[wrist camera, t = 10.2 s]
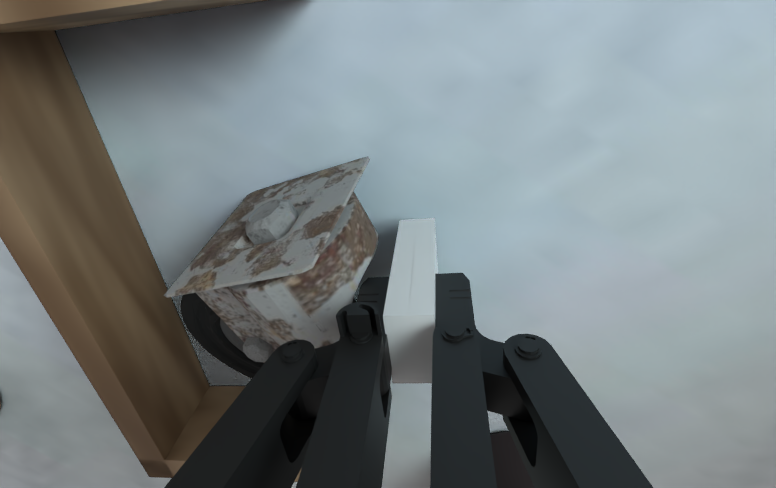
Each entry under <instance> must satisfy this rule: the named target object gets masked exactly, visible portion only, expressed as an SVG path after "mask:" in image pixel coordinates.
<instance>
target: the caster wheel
mask: <svg viewBox="0 0 776 488" xmlns="http://www.w3.org/2000/svg"><path fill="white" fill-rule="evenodd" d="M369 160H370V159H369V156H368V157H364V158H360V159H357V160H354V161H351V162H348V163H344V164H341V165H338V166H335V167H331V168H328V169H325V170H322V171H319V172H315V173H312V174H309V175H306V176H302V177H299V178H296V179H293V180H290V181H286V182H283V183H280V184H277V185H273V186H270V187H267V188H264V189H260V190H257V191H255V192H252V193H250V194H249V195H247V197H246V198H245V199H244V200H243V201H242V202H241V204H240V205H239V206H238V207H237V208H236V210H235V211H234V212H233V213H232V214H231V216H230V217H229V218H228V219H227V220H226V222H225V223H224V224H223V225H222V226H221V227H220V229H219V230H218V231H217V232H216V233H215V235H214V236H213V237H212V238H211V239H210V241H209V242H208V243H207V244H206V245H205V247H204V248H203V249H202V250H201V251H200V252H199V254H198V255H197V256H196V257H195V258H194V260H193V261H192V262H191V263H190V264H189V266H188V267H187V268H186V269H185V270H184V272H183V273H182V274H181V275H180V276H179V277H178V279H177V280H176V281H175V282H174V283H173V285H172V286H171V287H170V288H169V289H168V291H167V292H166V293H165V295H164V296H166V297H167V298H168V297H173V296H179V295H183V297H182V300H181V312H182V316H183V320H184V322H185V324H186V326H187V328H188V330H189V331H190V333H191V334H192V335H193V337H194V338H195V339H196V340H197V341H198V342H199V343H200V344H201V345H202V346H203V347H204V348H205V349H206V350H207V351H208V352H209V353H210V354H212V355H213V356H214V357H216V358H217V359H219V360H220V361H222V362H223V363H225V364H226V365H227V366H229V367H231V368H233V369H235V370H236V371H238V372H240V373H242V374H244V375H246V376H248V377H251V378H253V377H254V376H255V374H256V373H257V372H258V371H259V369H260V368H261V367H262V366H263V364H264V363H265V362H266V361H267V359H268V358H269V357H270V356H271V354H272V353H273V352H274V351H275V350H276V349H277V348H278V347H279V346H280V345H282V344H284V343H286V342H288V341H292V340H296V339H298V340H306V341H309V342H311V343H312V344H313V345H314V348H319V347H323V346H327V345H330V344H333V343H335V342H337V341H339V339H340V334H339V329H338V325H337V320H336V314H337V313H338V311H339V310H340V309H341V308H343V307H344V306H346V305H348V304H351V303H355V302H356V301H355V299H354V295H355V292H356V290H357V288H358V285H359V283H360V280H361V278H362V276H363V274H364V273H365V271H366V269H367V268H368V266H369V265H370V263H371V261H372V259H373V257H374V255H375V252H376V250H377V246H378V240H379V238H378V233H377V232H376V230H375V228H374V226H373V225H372V223H371V221H370V219H369V218H368V216H367V214H366V212H365V211H364V209H363V207H362V205H361V204H360V202H359V200H358V198H357V196H356V195H355V193H354V192H353V191H354V189H355V187H356V185H357V183H358V181H359V179H360V177H361V175H362V173H363V171H364V170H365V168H366V166H367V164H368V162H369Z"/></svg>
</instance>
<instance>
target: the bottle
mask: <svg viewBox="0 0 776 488" xmlns="http://www.w3.org/2000/svg"><path fill="white" fill-rule="evenodd" d="M490 436H491V444H492V452H493V460H494V468H495V476H496V484H497V488H535V487H534V485H533V483H532V480H531V478H530V476H529V474H528V472H527V470H526V467H525V465H524V463H523V461H522V459H521V456H520V454H519V452H518V450H517V448H516V446H515V443H514V441H513V439H512V437H511V435H510V433H509V432H500V433H494V434H490Z"/></svg>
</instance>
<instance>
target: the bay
mask: <svg viewBox="0 0 776 488" xmlns="http://www.w3.org/2000/svg"><path fill="white" fill-rule="evenodd" d="M260 1H267V0H0V237H1V239H2V240H3V242H4V244H5V245H6V247H7V248H8V250H9V252H10V253H11V255H12V257H13V258H14V260H15V261H16V263H17V265H18V266H19V268H20V269H21V271H22V273H23V274H24V276H25V277H26V279H27V281H28V282H29V284H30V285H31V287H32V289H33V290H34V292H35V294H36V295H37V297H38V298H39V300H40V302H41V303H42V305H43V306H44V308H45V310H46V311H47V313H48V314H49V316H50V318H51V319H52V321H53V323H54V324H55V326H56V327H57V329H58V331H59V332H60V334H61V335H62V337H63V339H64V340H65V342H66V343H67V345H68V347H69V348H70V350H71V352H72V353H73V355H74V356H75V358H76V360H77V361H78V363H79V364H80V366H81V368H82V369H83V371H84V372H85V374H86V376H87V377H88V379H89V381H90V382H91V384H92V385H93V387H94V389H95V390H96V392H97V393H98V395H99V397H100V398H101V400H102V401H103V403H104V405H105V406H106V408H107V410H108V411H109V413H110V414H111V416H112V418H113V419H114V421H115V422H116V424H117V426H118V427H119V429H120V430H121V432H122V434H123V435H124V437H125V438H126V440H127V442H128V443H129V445H130V447H131V448H132V450H133V451H134V453H135V455H136V456H137V458H138V459H139V461H140V463H141V464H142V466H143V467H144V469H145V471H146V472H147V474H148V476H149V477H164V478H173V476H174V475H175V474H176V473H177V471H178V470H179V469H180V468H181V466H182V465H183V464H184V463H185V461H186V460H187V459H188V458H189V456H190V455H191V454H192V453H193V451H194V450H195V449H196V448H197V446H198V445H199V444H200V443H201V442H202V440H203V439H204V438H205V437H206V435H207V434H208V433H209V432H210V430H211V429H212V428H213V427H214V425H215V424H216V423H217V422H218V420H219V419H220V418H221V417H222V415H223V414H224V413H225V412H226V410H227V409H228V408H229V407H230V405H231V404H232V403H233V402H234V400H235V399H236V398H237V397H238V395H239V394H240V393H241V392H242V390H243V389H244V388H245V387H246V386H210V385H209V383H208V381H207V379H206V376H205V374H204V372H203V369H202V367H201V365H200V363H199V360H198V358H197V356H196V353H195V351H194V349H193V347H192V344H191V342H190V340H189V337H188V335H187V333H186V331H185V328H184V326H183V324H182V321H181V319H180V317H179V315H178V312H177V310H176V308H175V305H174V303H173V301H172V299H171V297H168V298H167V297H166V296H164V295H165V293H166V292H167V291H168V289H167V287H166V285H165V283H164V280H163V278H162V276H161V273H160V271H159V269H158V267H157V264H156V262H155V260H154V257H153V255H152V253H151V251H150V248H149V246H148V244H147V241H146V239H145V237H144V235H143V232H142V230H141V228H140V225H139V223H138V221H137V219H136V216H135V214H134V212H133V209H132V207H131V205H130V203H129V200H128V198H127V196H126V193H125V191H124V189H123V187H122V184H121V182H120V180H119V177H118V175H117V173H116V171H115V168H114V166H113V164H112V161H111V159H110V157H109V155H108V152H107V150H106V148H105V145H104V143H103V141H102V138H101V136H100V134H99V132H98V129H97V127H96V125H95V122H94V120H93V118H92V116H91V113H90V111H89V109H88V106H87V104H86V102H85V100H84V97H83V95H82V93H81V90H80V88H79V86H78V84H77V81H76V79H75V77H74V74H73V72H72V70H71V68H70V65H69V63H68V61H67V58H66V56H65V54H64V52H63V49H62V47H61V45H60V42H59V40H58V38H57V36H56V33H55V31H54V30H61V29H69V28H76V27H83V26H90V25H97V24H104V23H111V22H118V21H125V20H132V19H139V18H146V17H153V16H161V15H168V14H175V13H182V12H189V11H196V10H203V9H210V8H217V7H224V6H231V5H238V4H245V3H253V2H260ZM301 469H302V468H301ZM300 472H301V470H300ZM300 472H299V474H298V475H297V477H296V479H295V481H294V482H298V479H299V475H300Z"/></svg>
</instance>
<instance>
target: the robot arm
mask: <svg viewBox="0 0 776 488" xmlns="http://www.w3.org/2000/svg"><path fill="white" fill-rule="evenodd" d="M336 320H337V325H338V329H339V334H340V339H339V341H337V342H335V343H333V344H330V345H327V346H323V347H319V348H314V345H313V344H312V343H311V342H309V341H306V340H298V339H296V340H292V341H288V342H286V343H284V344H282V345H280V346H279V347H278V348H277V349H276V350H275V351H274V352H273V353H272V354H271V356H270V357H269V358H268V359H267V361H266V362H265V363H264V364H263V366H262V367H261V368H260V369H259V371H258V372H257V373H256V374H255V376H254V377H253V378H252V379H251V381H250V382H249V383H248V384H247V385H246V387H245V388H244V389H243V390H242V392H241V393H240V394H239V395H238V397H237V398H236V399H235V400H234V402H233V403H232V404H231V405H230V407H229V408H228V409H227V410H226V412H225V413H224V414H223V415H222V417H221V418H220V419H219V420H218V422H217V423H216V424H215V425H214V427H213V428H212V429H211V430H210V432H209V433H208V434H207V435H206V437H205V438H204V439H203V440H202V442H201V443H200V444H199V445H198V446H197V448H196V449H195V450H194V451H193V453H192V454H191V455H190V456H189V458H188V459H187V460H186V461H185V463H184V464H183V465H182V466H181V468H180V469H179V470H178V471H177V473H176V474H175V475H174V476H173V478H172V479H171V480H170V481H169V483H168V484H167V485H166V486H165V488H291V486H292V485H293V483H294V481H295V479H296V477H297V475H298V474H299V472H300V470H301V472H300V475H299V479H298V482H297V486H296V488H381V487H382V478H383V469H384V460H385V451H386V442H387V434H388V425H389V416H390V407H391V398H392V396H391V389H390V380H391V375H392V382H393V383H432V415H431V485H430V488H497V484H496V476H495V468H494V460H493V452H492V444H491V436H490V428H489V421H488V413H487V410H488V411H491V412H495V413H498V414H501V415H503V419H504V422H505V424H506V426H507V428H508V430H509V433H510V435H511V437H512V439H513V441H514V443H515V446H516V448H517V450H518V452H519V454H520V456H521V459H522V461H523V463H524V465H525V467H526V470H527V472H528V474H529V476H530V478H531V480H532V483H533V485H534V487H535V488H653V487H652V485H651V484H650V482H649V481H648V480H647V478H646V477H645V475H644V474H643V473H642V471H641V470H640V469H639V467H638V466H637V464H636V463H635V462H634V460H633V459H632V457H631V456H630V455H629V453H628V452H627V450H626V449H625V448H624V446H623V445H622V443H621V442H620V441H619V439H618V438H617V436H616V435H615V434H614V432H613V431H612V430H611V428H610V427H609V425H608V424H607V423H606V421H605V420H604V418H603V417H602V416H601V414H600V413H599V411H598V410H597V409H596V407H595V406H594V404H593V403H592V402H591V400H590V399H589V397H588V396H587V395H586V393H585V392H584V390H583V389H582V388H581V386H580V385H579V384H578V382H577V381H576V379H575V378H574V377H573V375H572V374H571V372H570V371H569V370H568V368H567V367H566V365H565V364H564V363H563V361H562V360H561V358H560V357H559V356H558V354H557V353H556V351H555V350H554V349H553V347H552V346H551V345H550V344H549V343H548V342H547V341H546V340H545V339H543V338H541V337H538V336H536V335H531V334H518V335H515V336H512V337H510V338H509V339H508V340H507V341H505V343H501V342H497V341H493V340H490V339H488V338H486V337H484V336H483V335H481V334H480V333H479V332H478V330H477V329H476V326H475V322H474V314H473V306H472V298H471V291H470V282H469V280H468V278H467V277H466V276H465V275H464V274H463V273H447V274H438V261H437V246H436V231H435V218H424V219H407V220H400V221H399V227H398V233H397V238H396V244H395V250H394V255H393V261H392V267H391V272H390V277H371V278H368V279H367V280H366V281H365V282H364V283H363V284H362V285H361V288H360V291H359V296H358V299H357V302H355V303H351V304H348V305H346V306H344V307H343V308H341V309H340V310H339V311H338V313H337V314H336ZM301 468H302V469H301Z"/></svg>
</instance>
